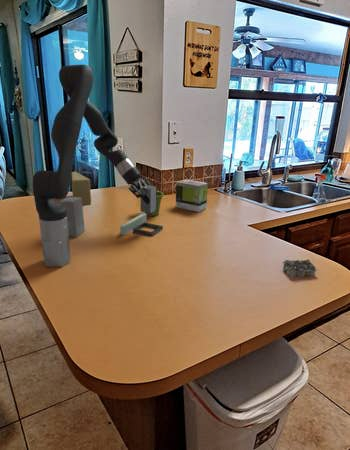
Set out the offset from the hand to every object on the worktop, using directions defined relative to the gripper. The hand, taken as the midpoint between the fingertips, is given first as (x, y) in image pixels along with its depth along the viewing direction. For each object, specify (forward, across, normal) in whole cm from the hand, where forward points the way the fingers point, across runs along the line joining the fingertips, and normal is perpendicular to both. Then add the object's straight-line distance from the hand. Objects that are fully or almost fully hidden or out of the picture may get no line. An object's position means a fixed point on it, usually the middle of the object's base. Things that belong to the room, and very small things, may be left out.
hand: (151, 201), depth 149 cm
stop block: (+2, 0, +5) cm, 5 cm away
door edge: (+4, 0, +17) cm, 17 cm away
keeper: (+9, 0, +11) cm, 14 cm away
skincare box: (-10, -20, +30) cm, 37 cm away
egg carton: (+56, -8, -36) cm, 67 cm away
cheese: (-32, +21, +53) cm, 65 cm away
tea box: (+12, +42, +9) cm, 45 cm away
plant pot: (+2, +21, +18) cm, 28 cm away
